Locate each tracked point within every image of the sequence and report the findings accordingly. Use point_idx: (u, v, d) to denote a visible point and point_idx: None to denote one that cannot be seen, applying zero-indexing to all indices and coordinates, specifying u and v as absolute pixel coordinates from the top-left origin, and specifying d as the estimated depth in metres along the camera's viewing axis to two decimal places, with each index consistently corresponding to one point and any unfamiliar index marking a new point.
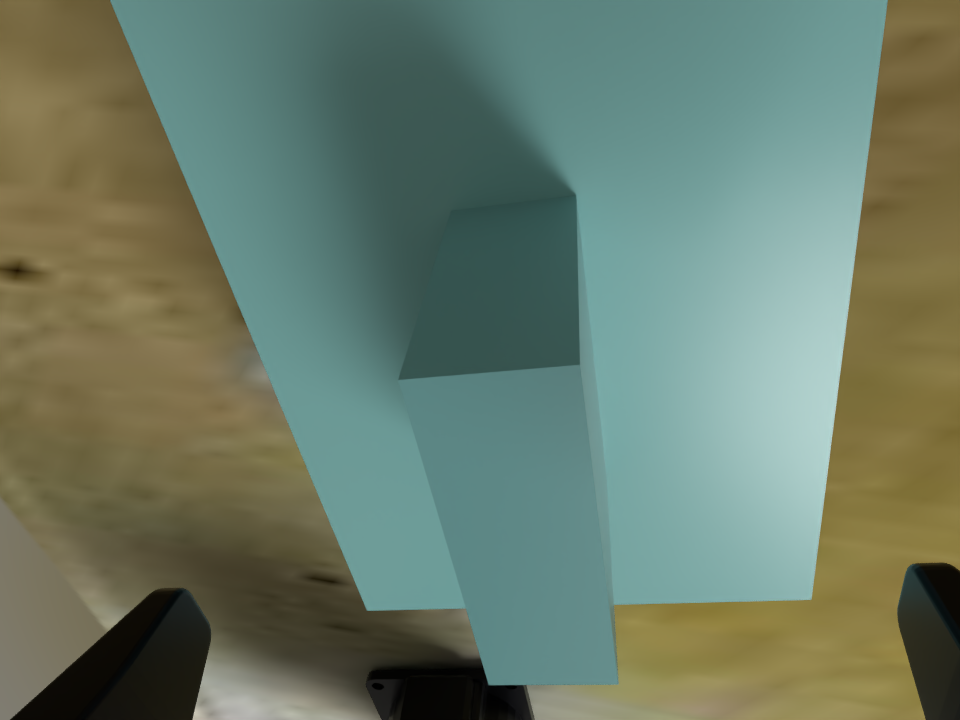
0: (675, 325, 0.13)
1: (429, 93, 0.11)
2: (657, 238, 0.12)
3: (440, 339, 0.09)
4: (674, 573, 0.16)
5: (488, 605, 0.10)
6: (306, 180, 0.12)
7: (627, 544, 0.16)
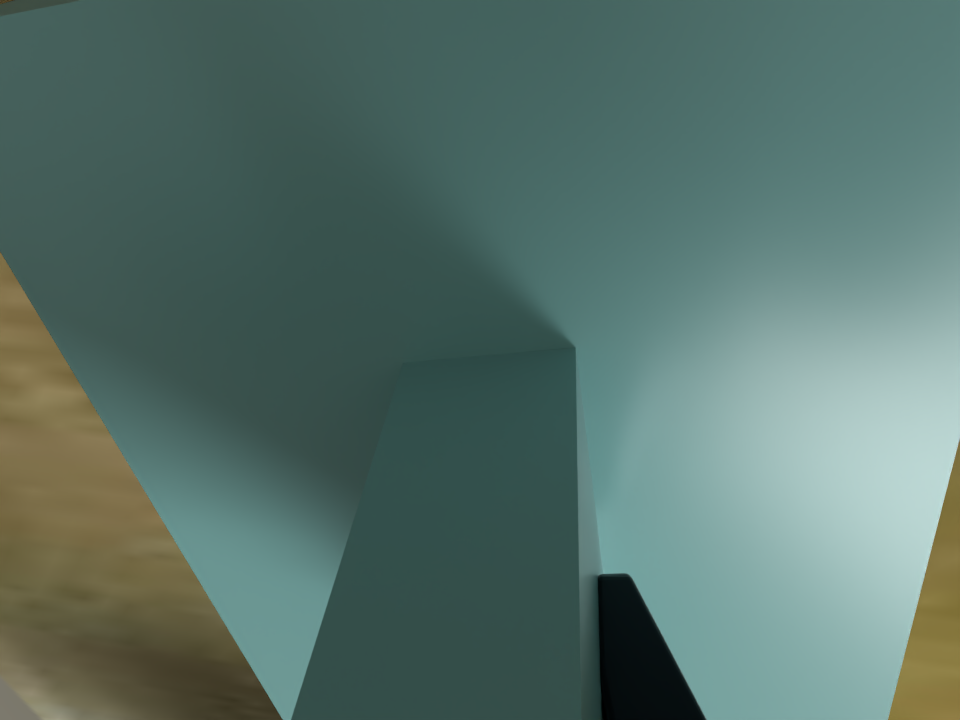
0: (708, 503, 0.09)
1: (365, 216, 0.07)
2: (687, 402, 0.08)
3: (358, 654, 0.05)
4: None
5: None
6: (203, 322, 0.08)
7: None
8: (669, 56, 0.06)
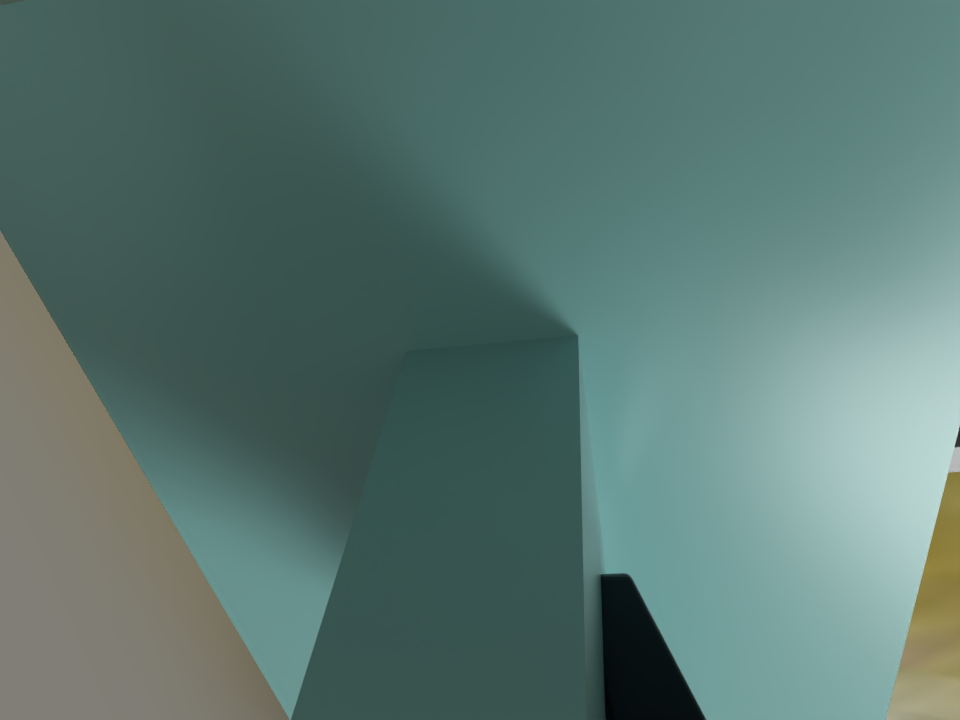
0: (710, 492, 0.09)
1: (370, 204, 0.08)
2: (689, 390, 0.08)
3: (365, 633, 0.05)
4: None
5: None
6: (207, 311, 0.09)
7: None
8: (672, 43, 0.06)
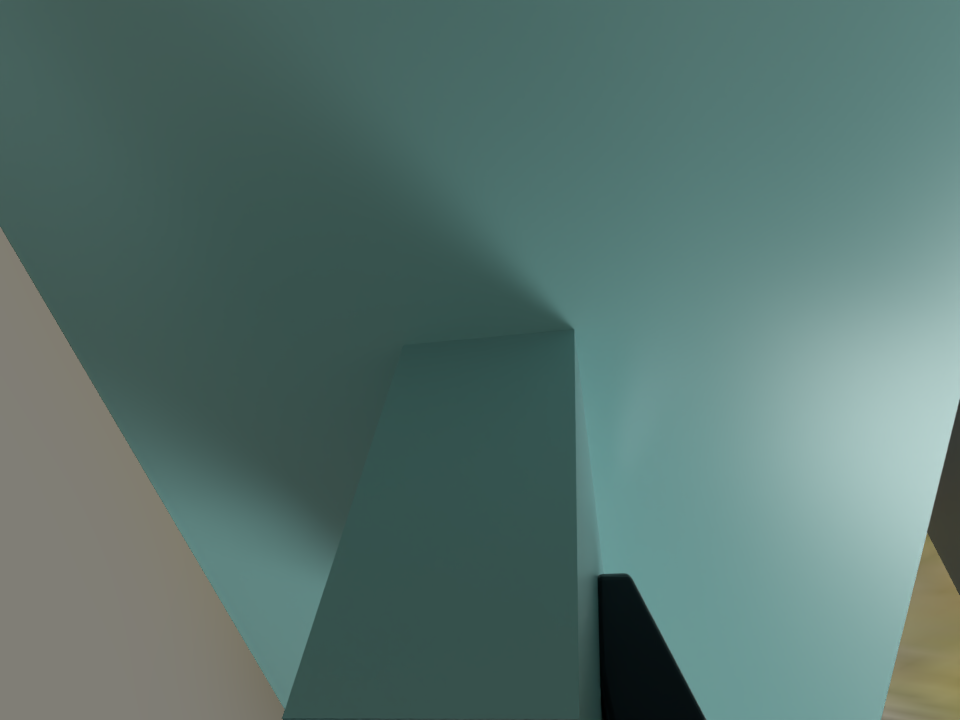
0: (706, 486, 0.09)
1: (366, 197, 0.08)
2: (685, 384, 0.09)
3: (360, 621, 0.05)
4: None
5: None
6: (205, 305, 0.09)
7: None
8: (666, 36, 0.06)
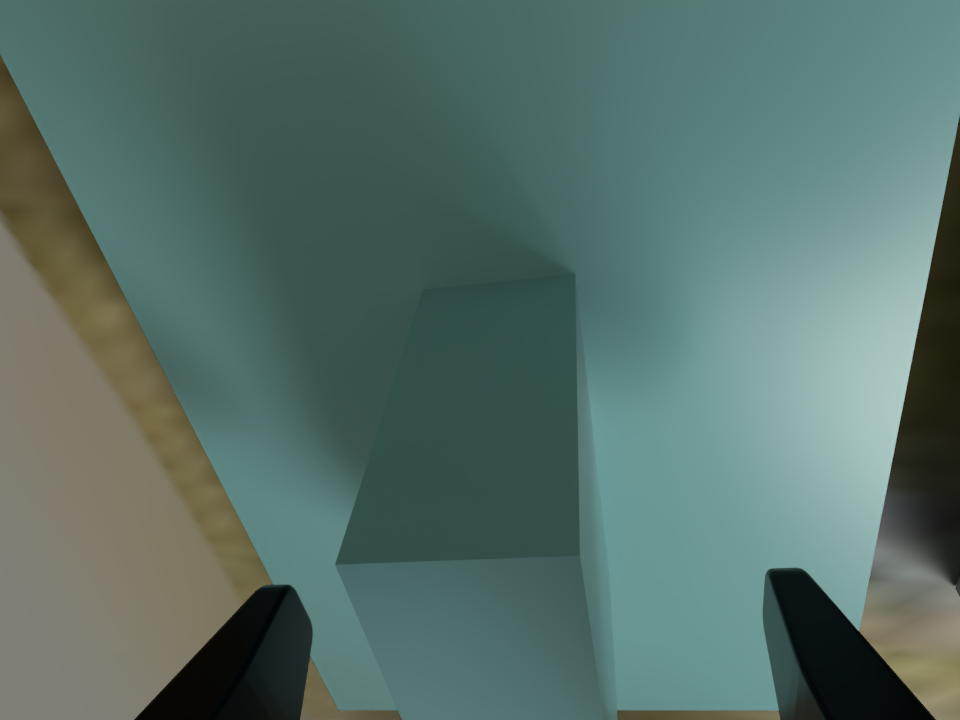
0: (693, 421, 0.10)
1: (393, 153, 0.09)
2: (673, 324, 0.10)
3: (396, 496, 0.07)
4: (687, 680, 0.14)
5: None
6: (246, 253, 0.10)
7: (633, 650, 0.14)
8: (655, 9, 0.07)
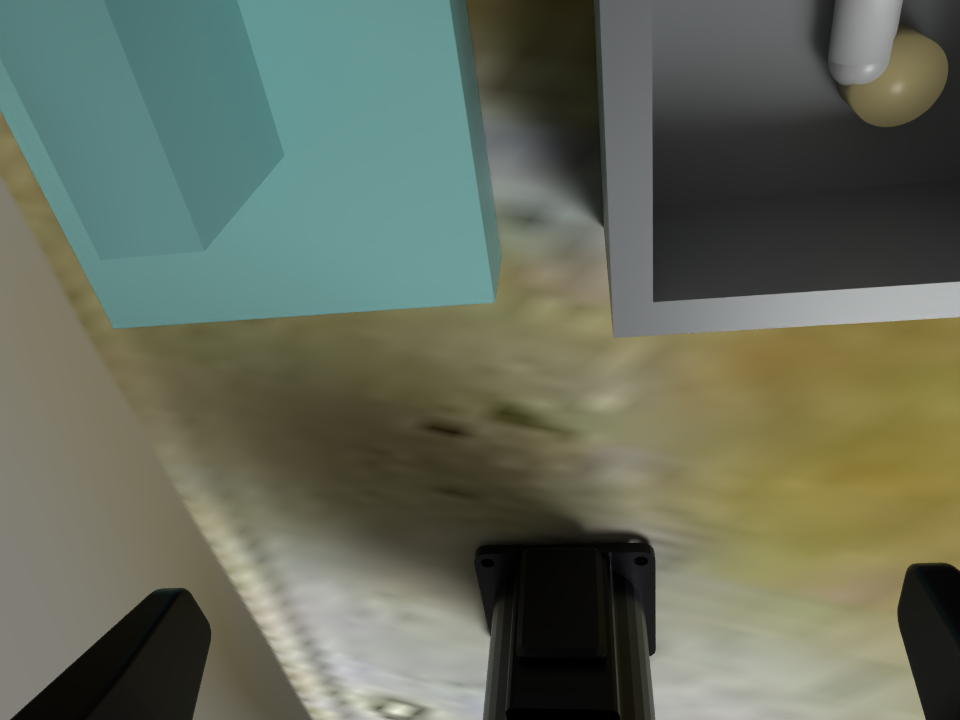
0: None
1: None
2: None
3: None
4: (370, 274, 0.18)
5: (65, 149, 0.12)
6: None
7: (322, 240, 0.18)
8: None
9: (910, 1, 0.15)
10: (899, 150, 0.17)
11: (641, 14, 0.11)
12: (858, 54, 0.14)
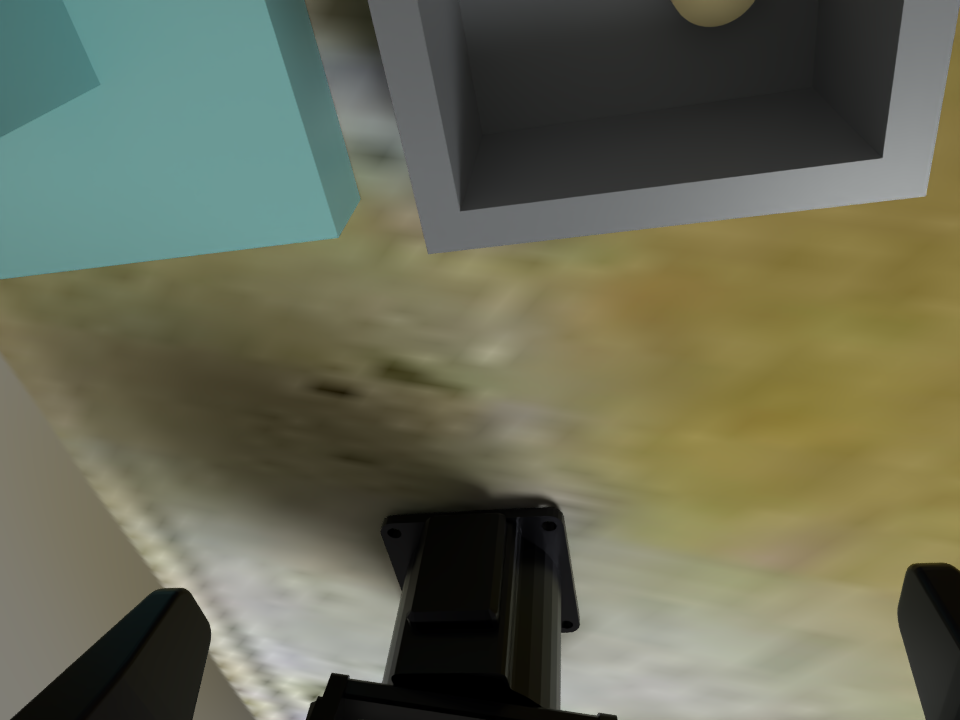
0: None
1: None
2: None
3: None
4: (208, 211, 0.17)
5: None
6: None
7: (154, 176, 0.17)
8: None
9: None
10: (741, 58, 0.16)
11: None
12: None
